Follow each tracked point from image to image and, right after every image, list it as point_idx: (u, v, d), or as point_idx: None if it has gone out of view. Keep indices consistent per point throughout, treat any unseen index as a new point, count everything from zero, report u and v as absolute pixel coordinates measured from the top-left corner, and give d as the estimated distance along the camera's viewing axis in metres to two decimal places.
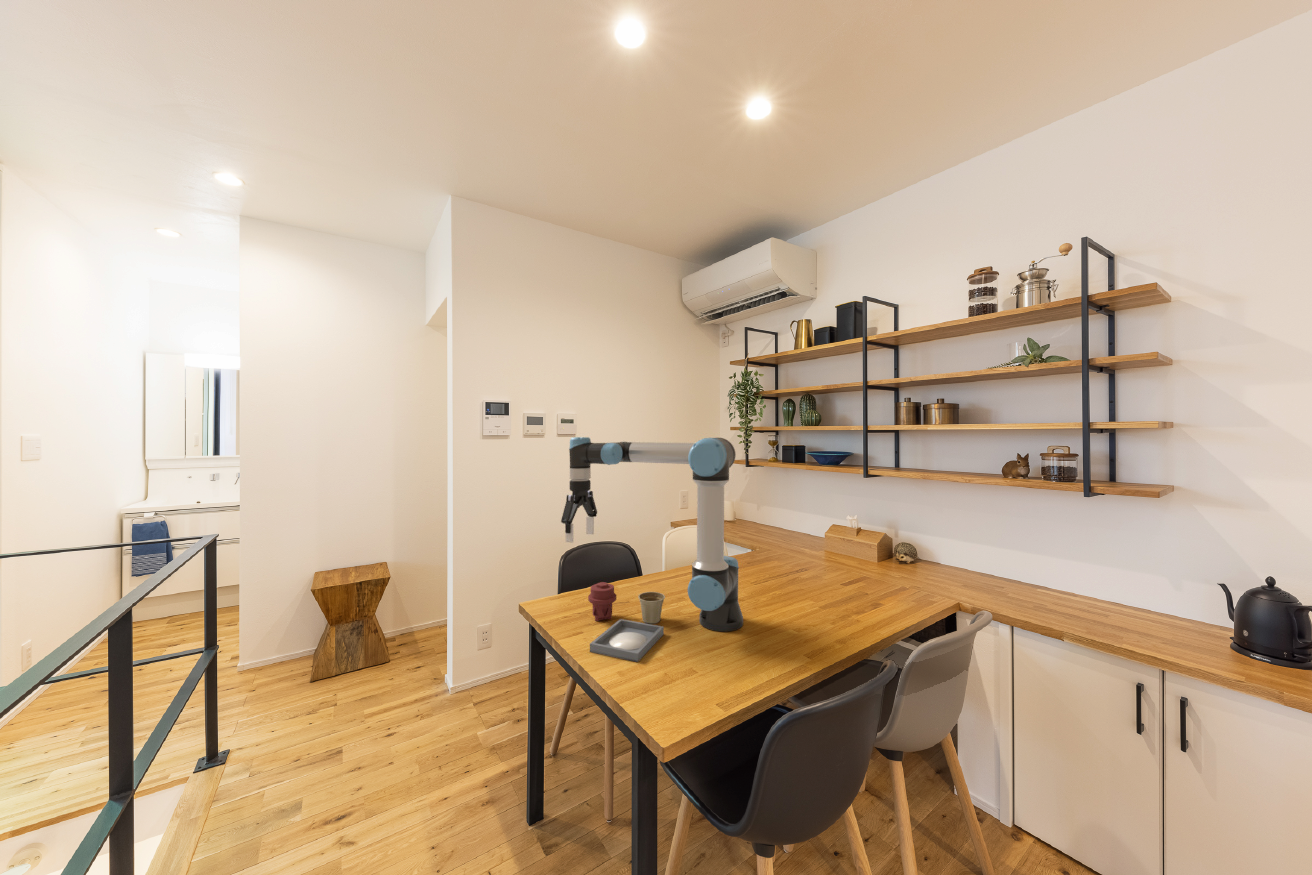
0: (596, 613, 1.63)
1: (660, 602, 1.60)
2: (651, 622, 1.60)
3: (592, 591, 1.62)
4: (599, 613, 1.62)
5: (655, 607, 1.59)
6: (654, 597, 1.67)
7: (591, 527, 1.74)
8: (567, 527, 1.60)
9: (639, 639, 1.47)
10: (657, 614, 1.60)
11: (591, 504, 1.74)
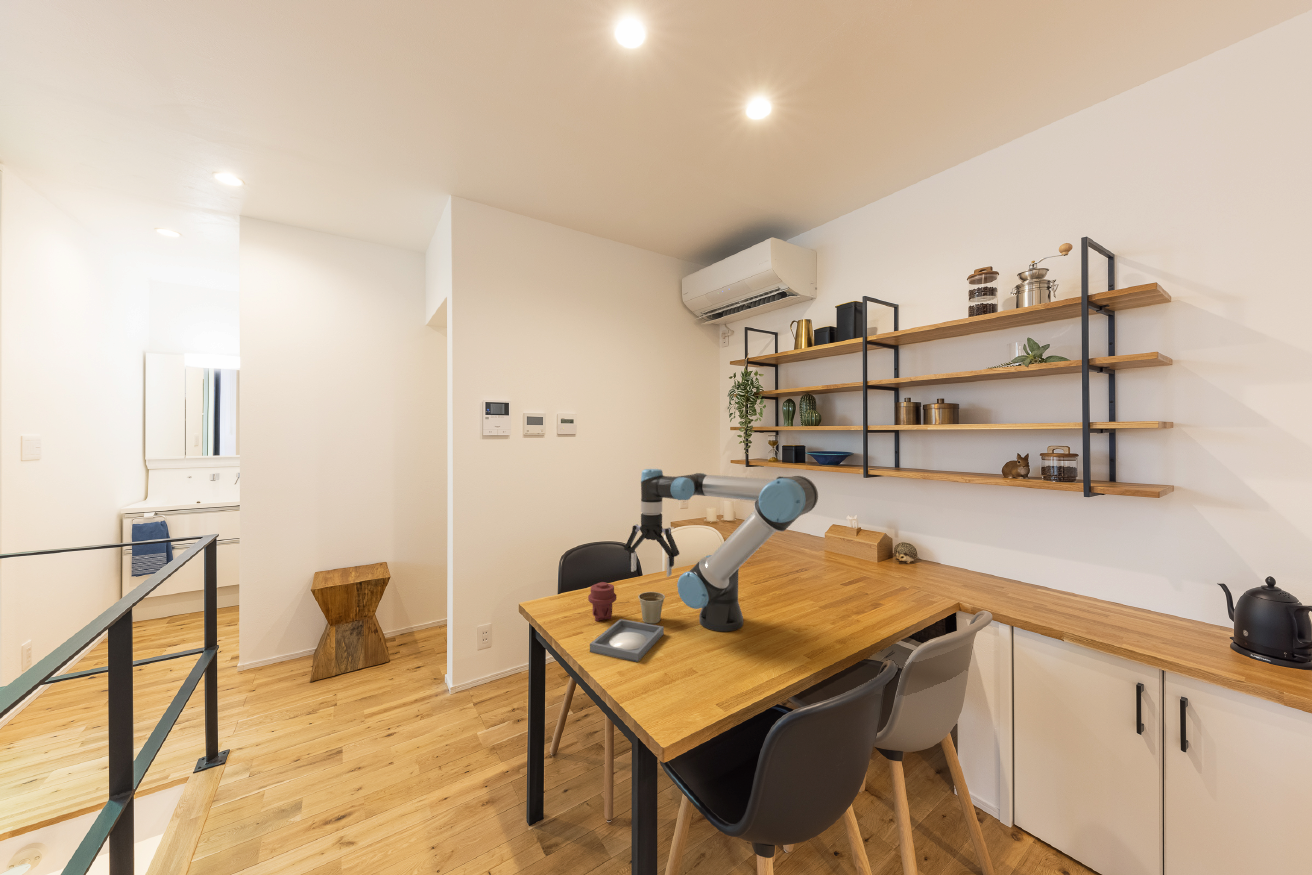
0: (596, 613, 1.63)
1: (660, 602, 1.60)
2: (651, 622, 1.60)
3: (592, 591, 1.62)
4: (599, 613, 1.62)
5: (655, 607, 1.59)
6: (654, 597, 1.67)
7: None
8: None
9: (639, 639, 1.47)
10: (657, 614, 1.60)
11: None
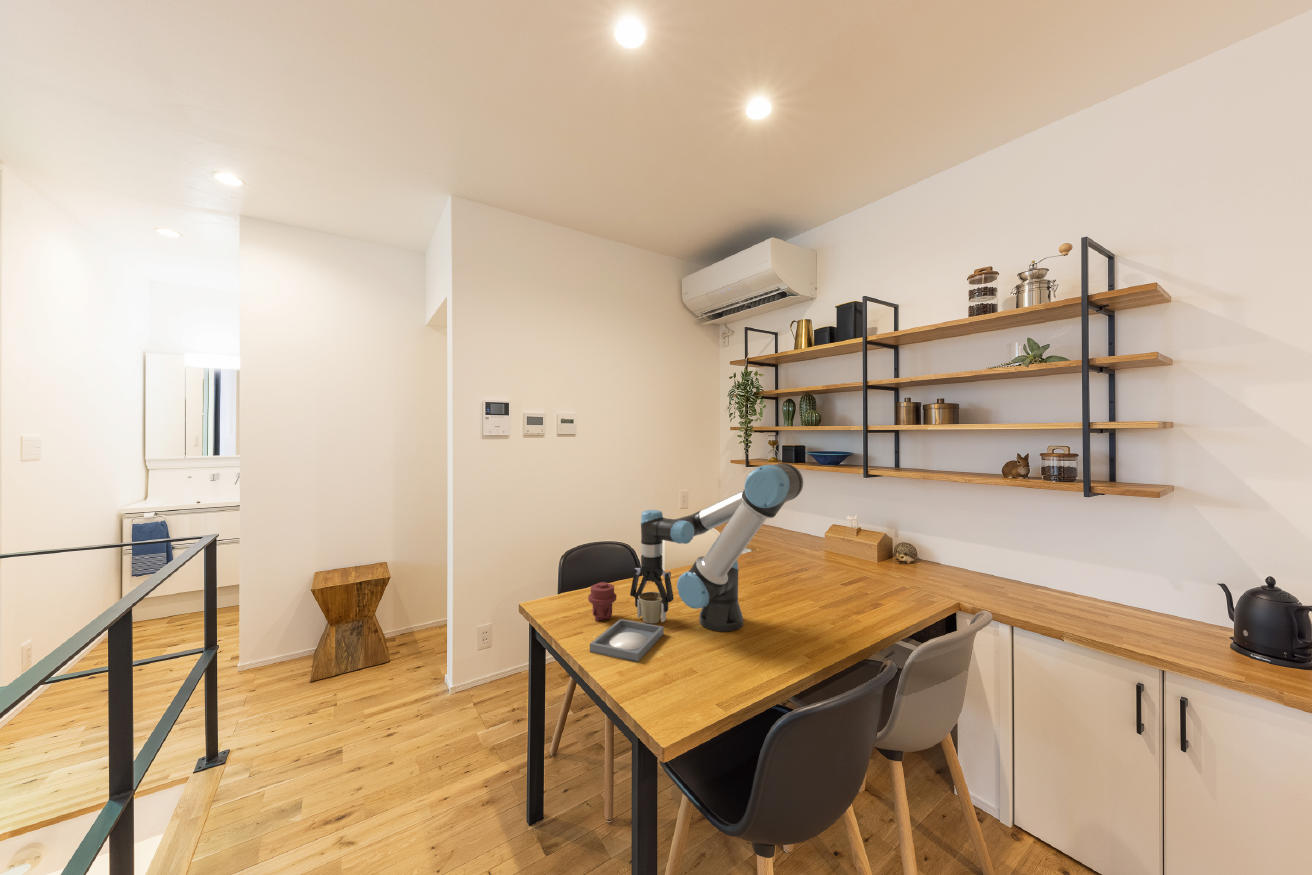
0: (596, 613, 1.63)
1: (660, 602, 1.60)
2: (651, 622, 1.60)
3: (592, 591, 1.62)
4: (599, 613, 1.62)
5: (655, 607, 1.59)
6: (654, 596, 1.67)
7: None
8: None
9: (639, 639, 1.47)
10: (657, 614, 1.60)
11: None
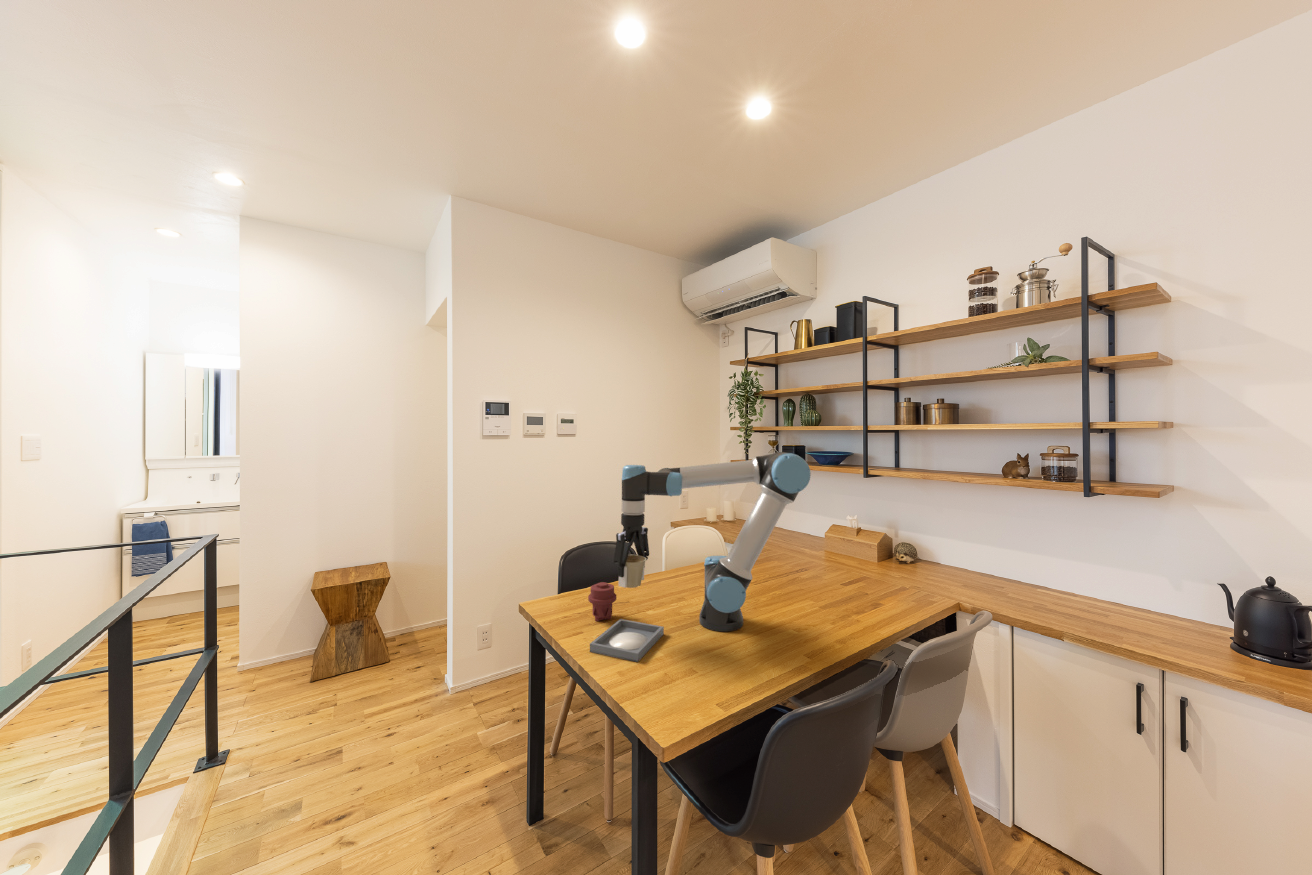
0: (596, 613, 1.63)
1: None
2: (640, 583, 1.49)
3: (592, 591, 1.62)
4: (599, 613, 1.62)
5: None
6: None
7: None
8: (620, 570, 1.44)
9: (639, 639, 1.47)
10: None
11: (644, 543, 1.54)
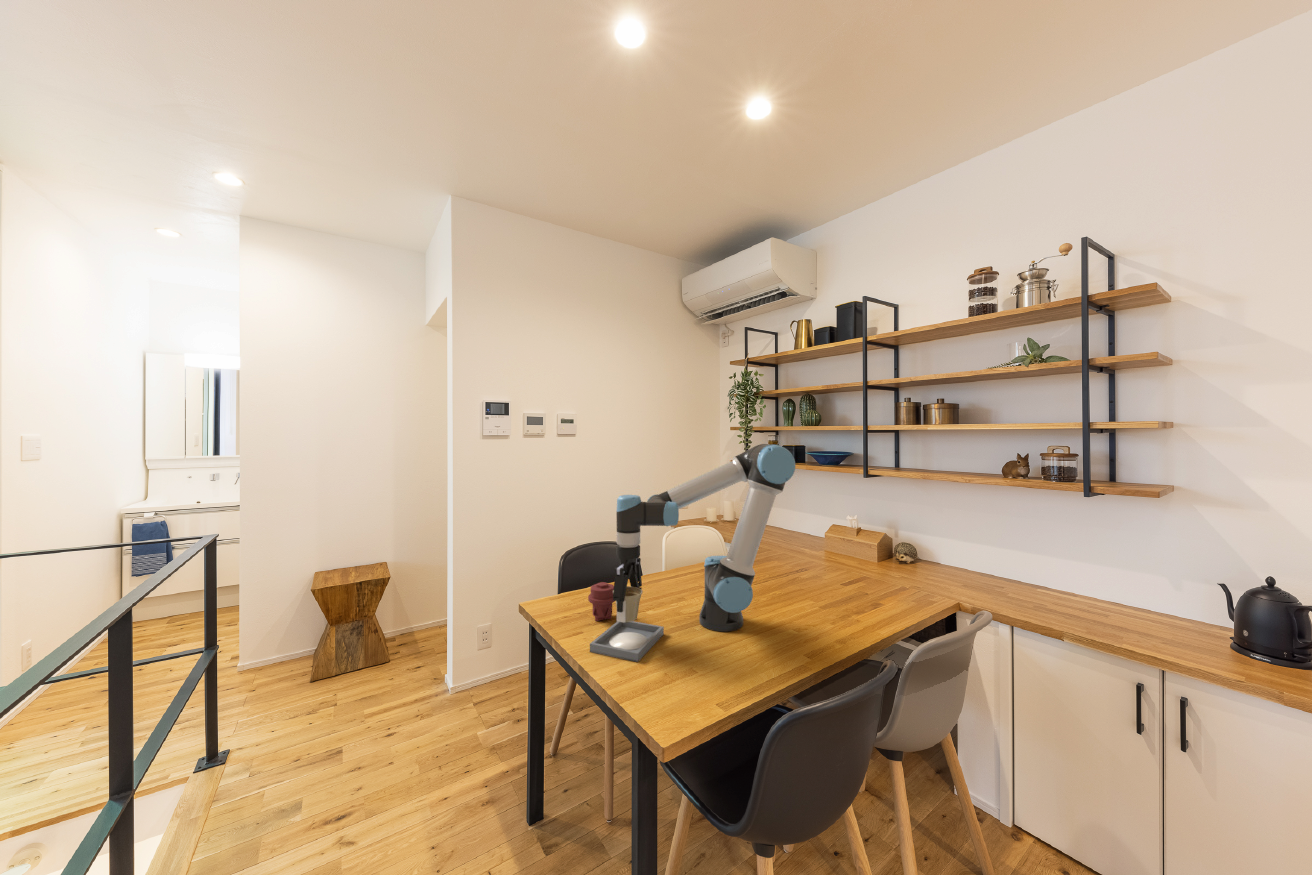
0: (596, 613, 1.63)
1: None
2: None
3: (592, 591, 1.62)
4: (599, 613, 1.62)
5: None
6: None
7: None
8: (619, 605, 1.40)
9: (639, 639, 1.47)
10: None
11: (637, 574, 1.51)
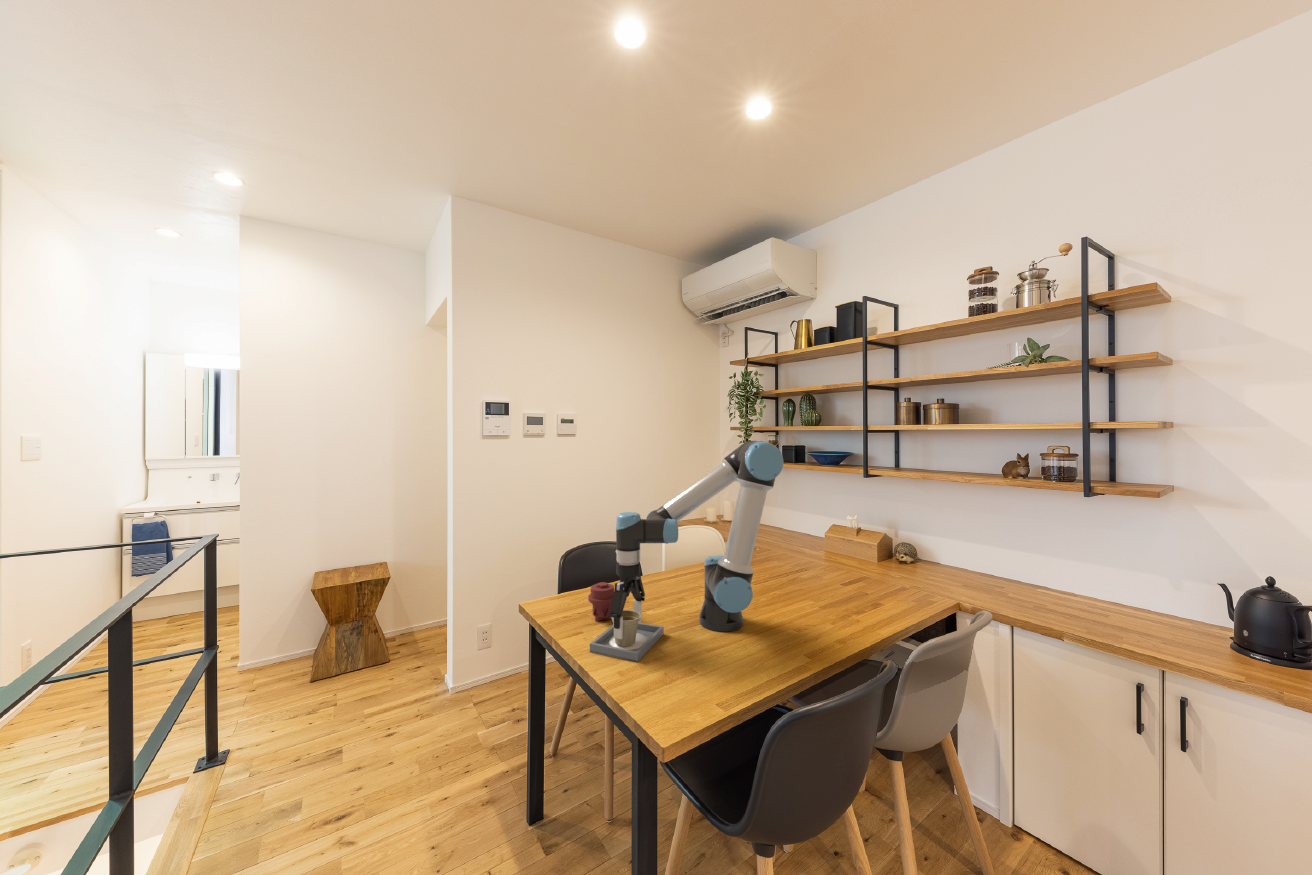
0: (596, 613, 1.63)
1: None
2: None
3: (592, 591, 1.62)
4: (599, 613, 1.62)
5: None
6: None
7: None
8: (616, 622, 1.38)
9: (639, 639, 1.47)
10: None
11: (639, 586, 1.52)
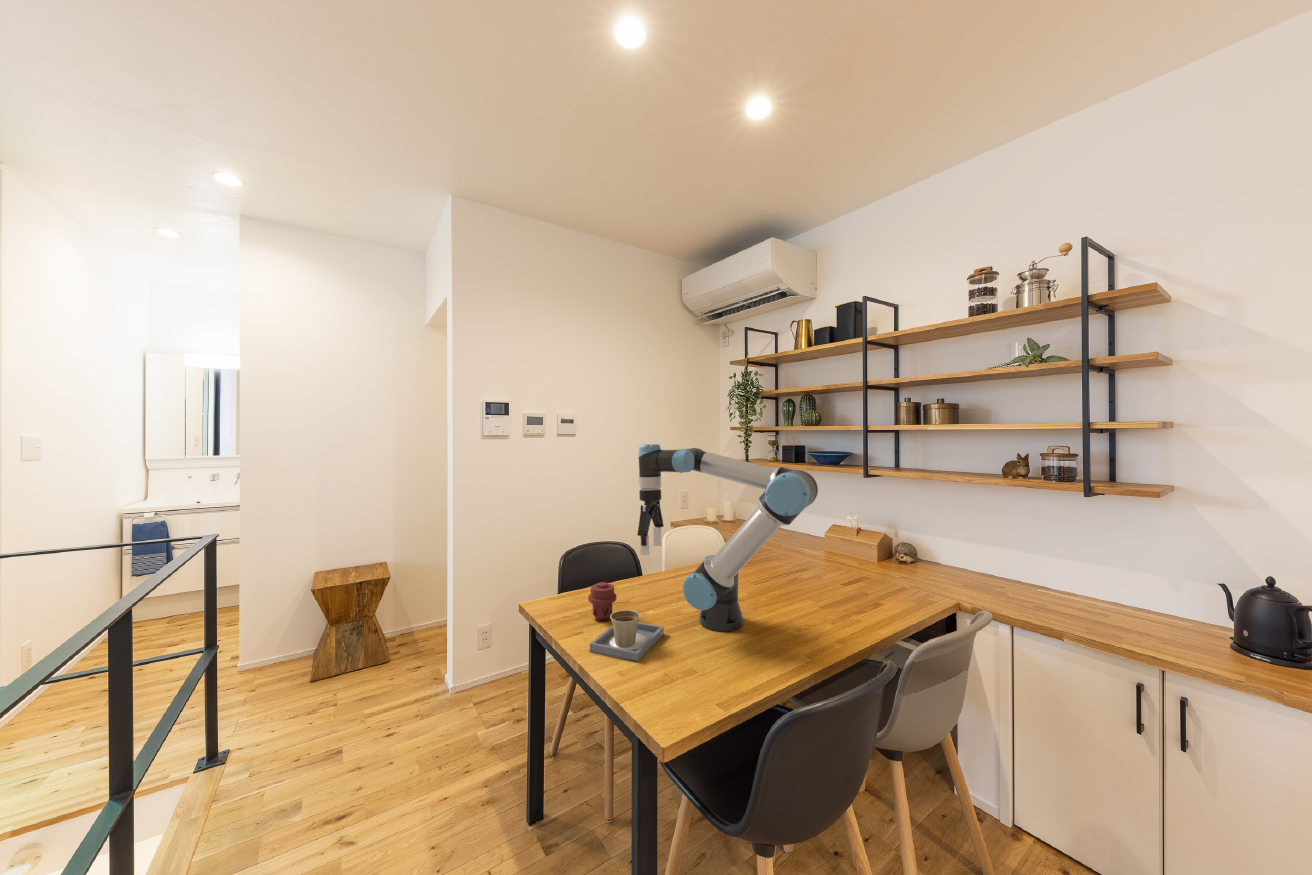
0: (596, 613, 1.63)
1: None
2: None
3: (592, 591, 1.62)
4: (599, 613, 1.62)
5: None
6: None
7: (659, 538, 1.66)
8: (643, 539, 1.52)
9: (639, 639, 1.47)
10: None
11: (658, 514, 1.66)
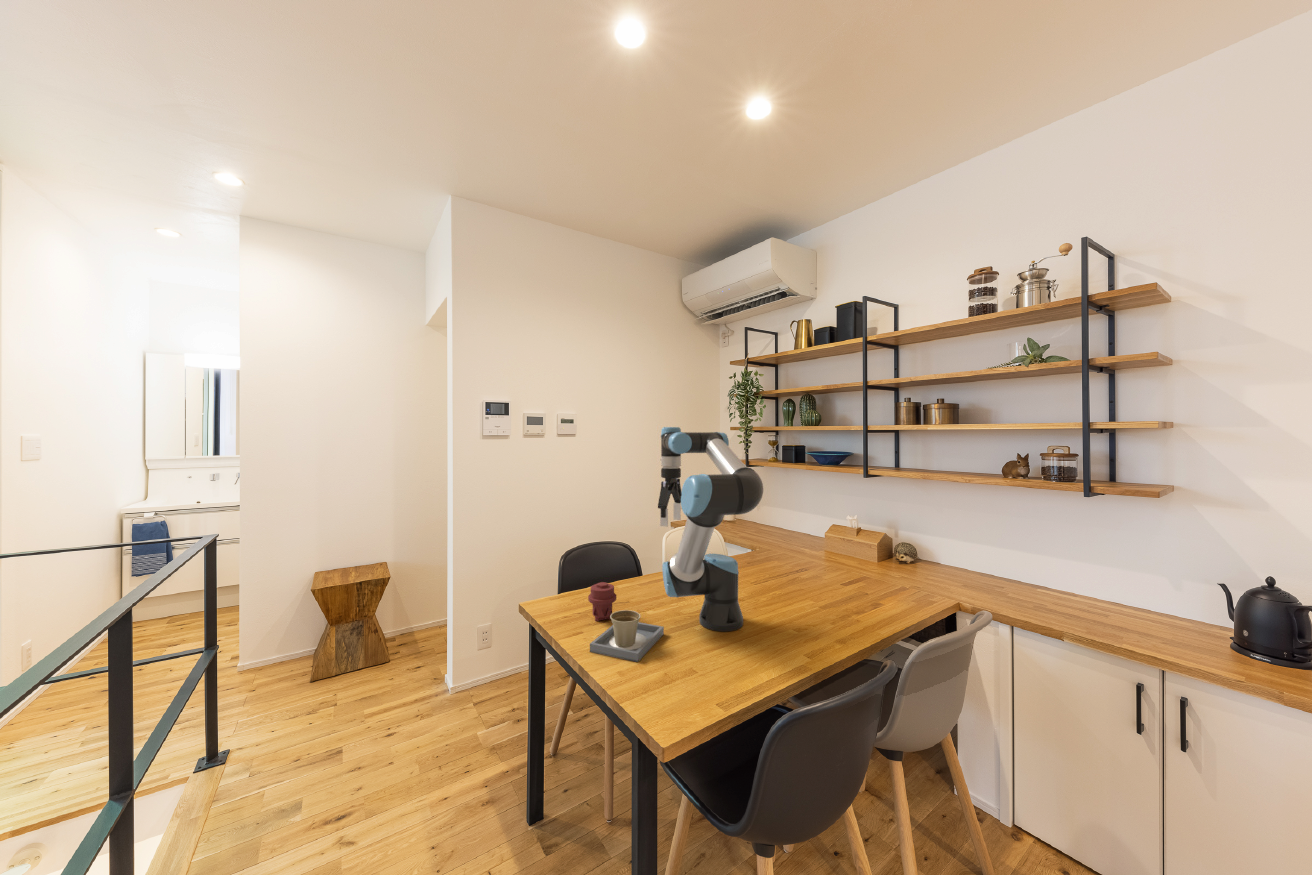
0: (596, 613, 1.63)
1: None
2: None
3: (592, 591, 1.62)
4: (599, 613, 1.62)
5: None
6: None
7: (678, 513, 1.82)
8: (663, 512, 1.69)
9: (639, 639, 1.47)
10: None
11: (678, 491, 1.83)
